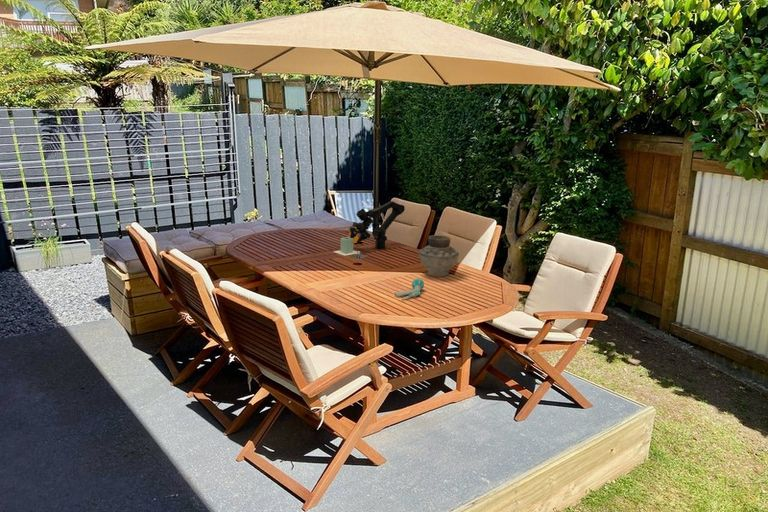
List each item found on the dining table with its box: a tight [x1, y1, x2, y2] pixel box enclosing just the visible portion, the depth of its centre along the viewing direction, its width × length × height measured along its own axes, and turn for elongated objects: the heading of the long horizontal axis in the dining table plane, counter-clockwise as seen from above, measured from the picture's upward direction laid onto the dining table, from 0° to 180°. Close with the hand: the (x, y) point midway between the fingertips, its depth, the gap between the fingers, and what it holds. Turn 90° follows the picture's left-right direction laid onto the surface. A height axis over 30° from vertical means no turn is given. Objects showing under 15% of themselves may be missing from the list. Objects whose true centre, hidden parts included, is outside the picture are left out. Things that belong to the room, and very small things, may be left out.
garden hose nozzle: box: [394, 277, 425, 301], centre depth 333 cm, size 7×18×20 cm
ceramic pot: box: [418, 234, 460, 278], centre depth 370 cm, size 25×25×24 cm
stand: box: [349, 250, 369, 260], centre depth 407 cm, size 10×10×5 cm
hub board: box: [332, 249, 358, 256], centre depth 418 cm, size 14×14×5 cm
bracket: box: [348, 227, 364, 243], centre depth 452 cm, size 11×7×12 cm, turn 38°
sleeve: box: [340, 236, 354, 254], centre depth 417 cm, size 6×6×10 cm
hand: (353, 241), depth 420 cm, fingers open, 9 cm apart
